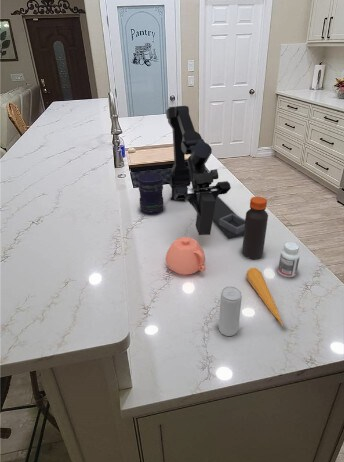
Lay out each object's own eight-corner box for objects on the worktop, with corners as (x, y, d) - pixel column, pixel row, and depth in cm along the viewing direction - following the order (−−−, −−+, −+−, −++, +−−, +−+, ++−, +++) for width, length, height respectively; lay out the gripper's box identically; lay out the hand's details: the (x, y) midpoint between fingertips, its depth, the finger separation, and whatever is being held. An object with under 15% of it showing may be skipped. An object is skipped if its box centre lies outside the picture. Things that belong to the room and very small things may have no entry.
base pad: (191, 196, 148) (192, 189, 147) (212, 193, 151) (212, 186, 149) (228, 239, 117) (229, 230, 115) (253, 234, 120) (254, 225, 118)
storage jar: (136, 213, 135) (133, 179, 128) (146, 202, 143) (144, 170, 136) (157, 217, 132) (156, 183, 125) (167, 206, 140) (166, 174, 133)
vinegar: (264, 250, 111) (272, 197, 101) (260, 261, 105) (267, 206, 96) (244, 245, 113) (250, 193, 104) (239, 256, 108) (245, 202, 99)
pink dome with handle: (184, 250, 112) (184, 224, 107) (217, 268, 103) (218, 241, 98) (158, 266, 104) (156, 239, 99) (190, 287, 95) (190, 259, 90)
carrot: (246, 278, 99) (242, 269, 97) (260, 272, 99) (256, 262, 96) (276, 335, 83) (273, 325, 80) (293, 328, 83) (290, 318, 80)
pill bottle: (287, 264, 104) (292, 239, 99) (300, 274, 99) (305, 248, 95) (274, 269, 102) (278, 243, 97) (286, 280, 97) (291, 253, 93)
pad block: (198, 235, 109) (203, 200, 103) (195, 225, 115) (200, 192, 108) (210, 235, 110) (215, 201, 104) (206, 225, 115) (211, 192, 109)
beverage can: (216, 322, 83) (219, 286, 78) (235, 321, 84) (238, 285, 78) (220, 338, 79) (223, 301, 74) (240, 336, 80) (244, 299, 74)
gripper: (174, 163, 103) (183, 210, 98) (230, 158, 106) (241, 203, 102) (169, 177, 113) (177, 220, 109) (221, 172, 117) (230, 213, 112)
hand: (206, 214), depth 108 cm, fingers closed on pad block, 4 cm apart
